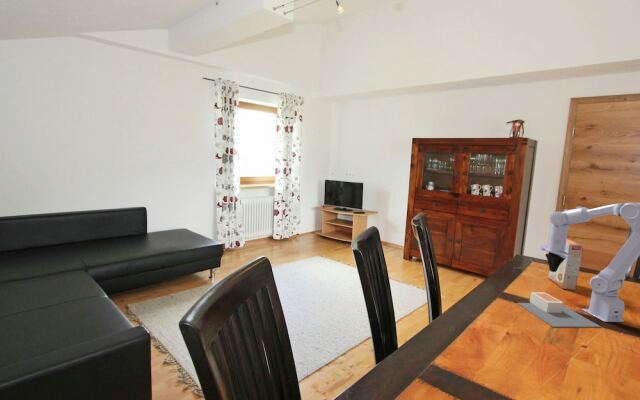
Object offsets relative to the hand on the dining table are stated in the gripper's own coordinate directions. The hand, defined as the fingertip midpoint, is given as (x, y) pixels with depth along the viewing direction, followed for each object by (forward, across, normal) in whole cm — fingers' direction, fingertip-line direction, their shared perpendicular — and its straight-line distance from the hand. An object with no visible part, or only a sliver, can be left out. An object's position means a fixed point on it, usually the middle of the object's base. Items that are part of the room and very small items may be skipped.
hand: (552, 271), depth 142 cm
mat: (+10, +18, -12) cm, 24 cm away
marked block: (+8, +8, -12) cm, 16 cm away
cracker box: (+11, -12, +16) cm, 23 cm away
